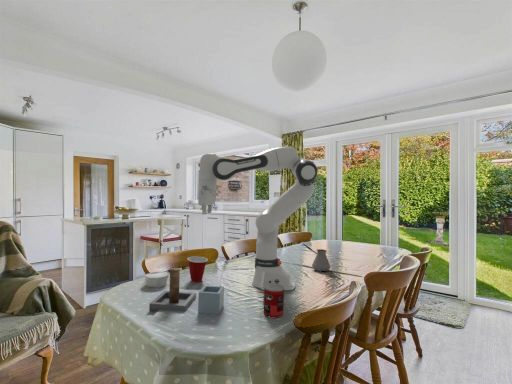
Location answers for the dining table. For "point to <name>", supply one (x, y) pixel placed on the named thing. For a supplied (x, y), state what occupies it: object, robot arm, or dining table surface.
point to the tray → (164, 304)
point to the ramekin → (156, 279)
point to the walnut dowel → (174, 285)
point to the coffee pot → (320, 260)
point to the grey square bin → (211, 299)
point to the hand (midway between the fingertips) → (206, 213)
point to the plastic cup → (197, 268)
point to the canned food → (273, 300)
